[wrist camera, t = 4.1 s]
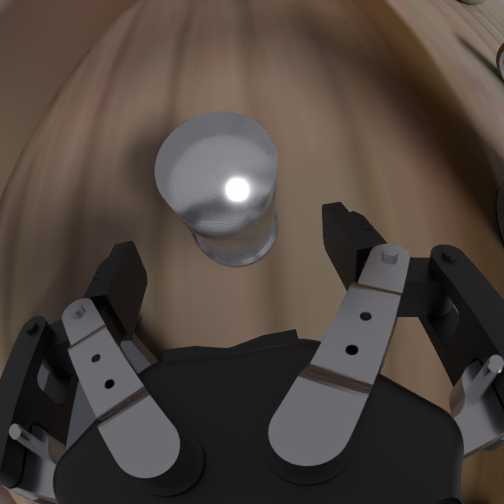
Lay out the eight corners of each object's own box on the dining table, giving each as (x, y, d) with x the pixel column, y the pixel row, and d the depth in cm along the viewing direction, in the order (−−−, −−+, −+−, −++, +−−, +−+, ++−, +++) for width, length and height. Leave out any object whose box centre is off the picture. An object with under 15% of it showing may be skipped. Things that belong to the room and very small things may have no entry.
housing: (237, 175, 22) (219, 88, 12) (294, 226, 21) (314, 158, 11) (181, 228, 21) (124, 168, 12) (236, 284, 20) (210, 258, 11)
